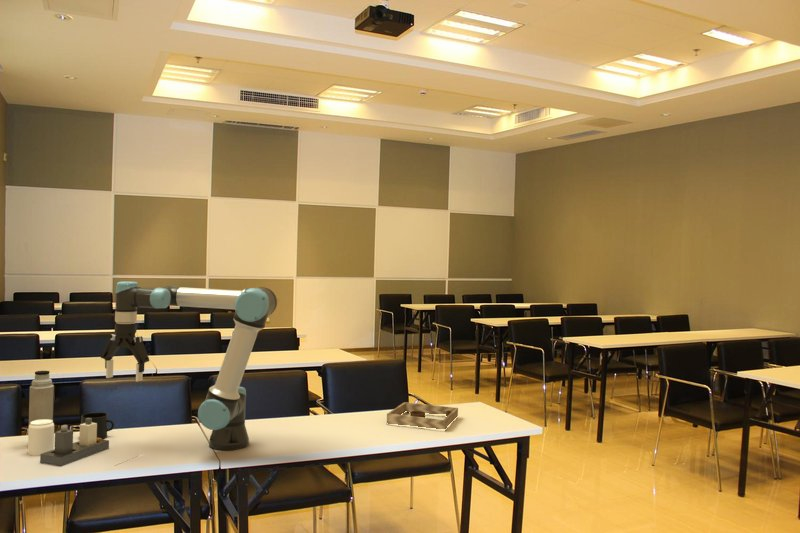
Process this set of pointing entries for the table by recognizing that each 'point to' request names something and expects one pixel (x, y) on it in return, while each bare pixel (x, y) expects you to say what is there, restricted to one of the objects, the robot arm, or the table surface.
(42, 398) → the thermos bottle
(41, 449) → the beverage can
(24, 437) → the table surface
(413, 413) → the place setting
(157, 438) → the table surface
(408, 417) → the frame
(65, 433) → the twin plug
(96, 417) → the mug
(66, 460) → the strip
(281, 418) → the table surface
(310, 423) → the table surface
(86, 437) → the plug
